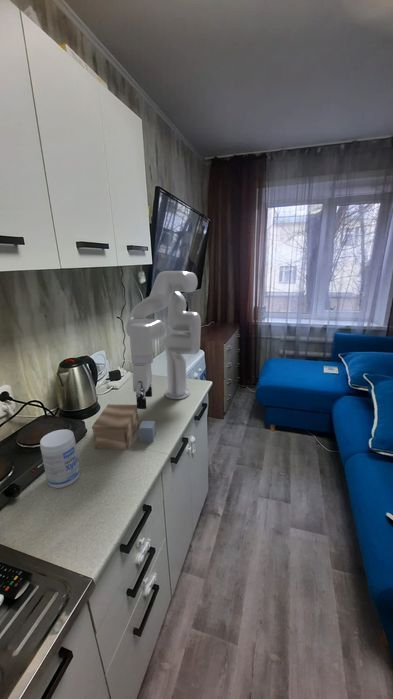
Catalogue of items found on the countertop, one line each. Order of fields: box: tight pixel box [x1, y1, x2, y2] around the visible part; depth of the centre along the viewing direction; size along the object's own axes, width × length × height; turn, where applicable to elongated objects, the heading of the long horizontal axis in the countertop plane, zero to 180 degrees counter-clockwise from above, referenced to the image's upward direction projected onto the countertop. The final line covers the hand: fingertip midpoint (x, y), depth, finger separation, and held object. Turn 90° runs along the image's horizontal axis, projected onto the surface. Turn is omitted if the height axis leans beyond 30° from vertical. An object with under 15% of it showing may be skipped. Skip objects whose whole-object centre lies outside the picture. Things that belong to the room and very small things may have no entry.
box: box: [92, 409, 140, 450], centre depth 110 cm, size 16×12×8 cm
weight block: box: [138, 420, 157, 443], centre depth 108 cm, size 5×5×6 cm
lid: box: [91, 403, 138, 430], centre depth 109 cm, size 16×12×1 cm
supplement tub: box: [39, 429, 81, 489], centre depth 87 cm, size 10×10×15 cm
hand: (144, 402), depth 104 cm, fingers open, 9 cm apart
